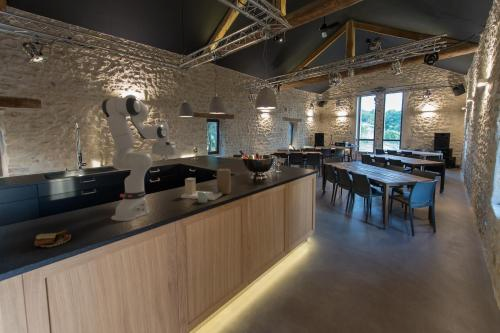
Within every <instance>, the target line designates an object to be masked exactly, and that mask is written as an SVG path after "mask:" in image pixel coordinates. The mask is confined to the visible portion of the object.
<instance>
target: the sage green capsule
mask: <svg viewBox="0 0 500 333" xmlns="http://www.w3.org/2000/svg"><path fill="white" fill-rule="evenodd" d="M199 191H200V192H198V199H197V203H200V204H203V203H204V204H205V203H208V200H207V192H208V191H206V190H199Z"/></svg>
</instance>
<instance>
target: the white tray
mask: <svg viewBox="0 0 500 333" xmlns="http://www.w3.org/2000/svg"><path fill="white" fill-rule="evenodd" d="M200 191H201V190H196V193H194V194H186V192H185V193H184V194H181V195H180V198H181V199H193V200H198V192H200ZM206 192H207V201H215V200H217V199H219V198H220V197H221V196H223V194H222V193H220V192H219V193H218V194H213V191H206Z"/></svg>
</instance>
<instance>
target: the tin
mask: <svg viewBox="0 0 500 333" xmlns="http://www.w3.org/2000/svg"><path fill="white" fill-rule="evenodd" d="M212 192H213V194H218V193H219V187H217V186H213V187H212Z"/></svg>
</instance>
